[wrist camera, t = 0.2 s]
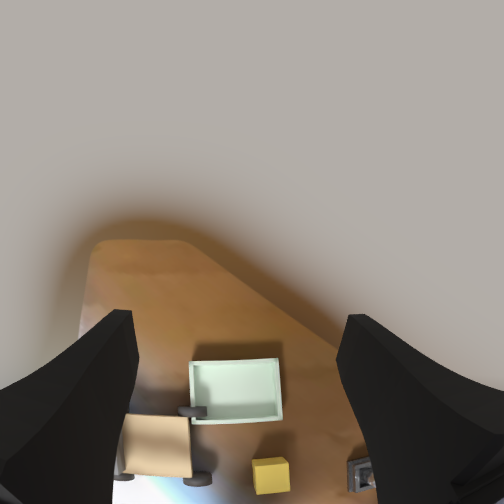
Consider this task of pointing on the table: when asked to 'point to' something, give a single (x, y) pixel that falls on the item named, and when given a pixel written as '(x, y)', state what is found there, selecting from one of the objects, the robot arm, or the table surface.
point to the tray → (236, 390)
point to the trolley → (159, 447)
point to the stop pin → (367, 475)
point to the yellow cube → (270, 475)
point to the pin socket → (357, 475)
